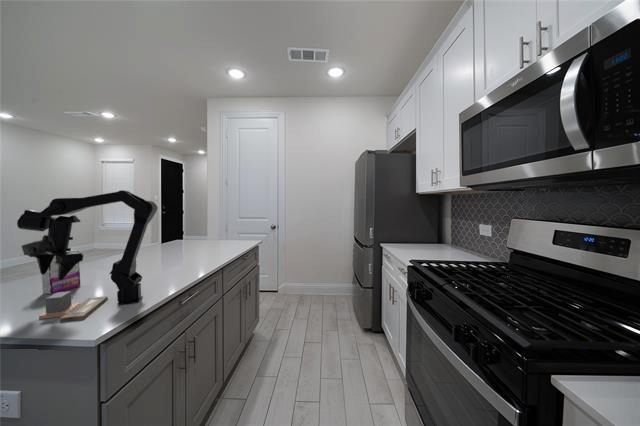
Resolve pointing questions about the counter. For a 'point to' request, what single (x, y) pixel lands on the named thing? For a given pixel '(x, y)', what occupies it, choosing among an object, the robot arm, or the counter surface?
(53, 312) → the stub
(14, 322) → the counter surface
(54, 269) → the candy bar box
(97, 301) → the board
